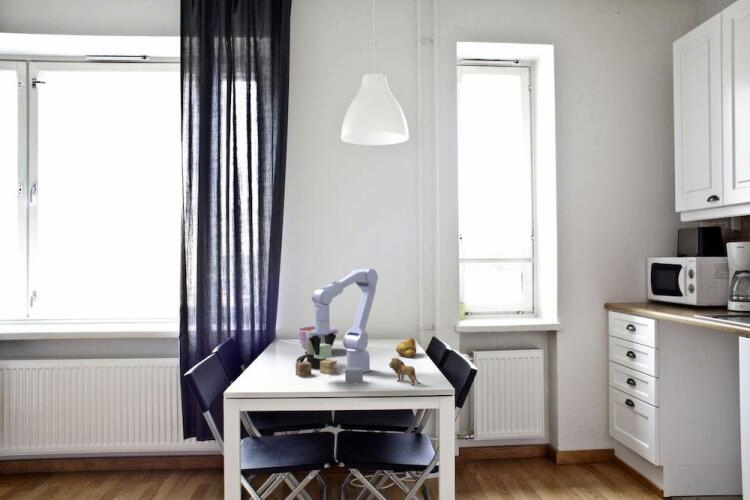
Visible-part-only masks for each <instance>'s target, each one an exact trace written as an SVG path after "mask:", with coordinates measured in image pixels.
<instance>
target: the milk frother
mask: <svg viewBox="0 0 750 500" xmlns="http://www.w3.org/2000/svg"><path fill="white" fill-rule="evenodd" d="M318 337H319V338H321V341H320V344H323V343H324V344H325V338H324V335H323V336H318ZM306 341H307V350H306V354H303V355H301V356H299V357H297V358H296V363H297V362H306V361H307V362H309V363H311V370H320V361H323V360H327V359H318V358H314V349H313V346H312V344H311V342H310V340H309V338H307V337H306ZM305 359H306V361H305Z"/></svg>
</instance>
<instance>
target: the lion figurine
mask: <svg viewBox="0 0 750 500" xmlns="http://www.w3.org/2000/svg"><path fill="white" fill-rule="evenodd" d="M388 366H389V368H390V369H392V370H393V372H394V373H395V374H397V375H396V376H397V378H398V379H397V380H396V382H397V383H399V382H402V381H404V379H405V376H408V378H409V380H410V381H411V383H410V385H411V386H413V387H414V386H415V383H417V384H418V385H421V384H422V383H421V382H420V381H418V379H417V375H416V369H415V368H414V367H413V366H412V365H408V366H407V365H406V364H405V363H404V361H403V360H401V359H399V358H398V357H392V358H391V360H390V362H389V363H388Z"/></svg>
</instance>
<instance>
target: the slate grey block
mask: <svg viewBox="0 0 750 500" xmlns="http://www.w3.org/2000/svg"><path fill="white" fill-rule="evenodd" d="M344 370H345V373H344V374H345V378H344V379H345V383H346V382H348V384H354V383H357V384H359V383H362V382H363V379H364V377H363V376H364V372H363V368H354V367H351V368H349V369H347V368H346V369H344ZM361 381H362V382H361Z"/></svg>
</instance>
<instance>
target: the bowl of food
mask: <svg viewBox="0 0 750 500" xmlns="http://www.w3.org/2000/svg"><path fill="white" fill-rule="evenodd" d="M334 328H336V329H338V328H337V327H334V326H330V329H334ZM311 331H315V325H314V326H303V327H299V328H297V334H298V338H299V341H300V342H299V343H300V345H301V347H302V348H303V350H305V351H307V341H306V332H311ZM334 335H336V336H337V334H334ZM334 344H335V341H334V342H333V344H332V346H334Z"/></svg>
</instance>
